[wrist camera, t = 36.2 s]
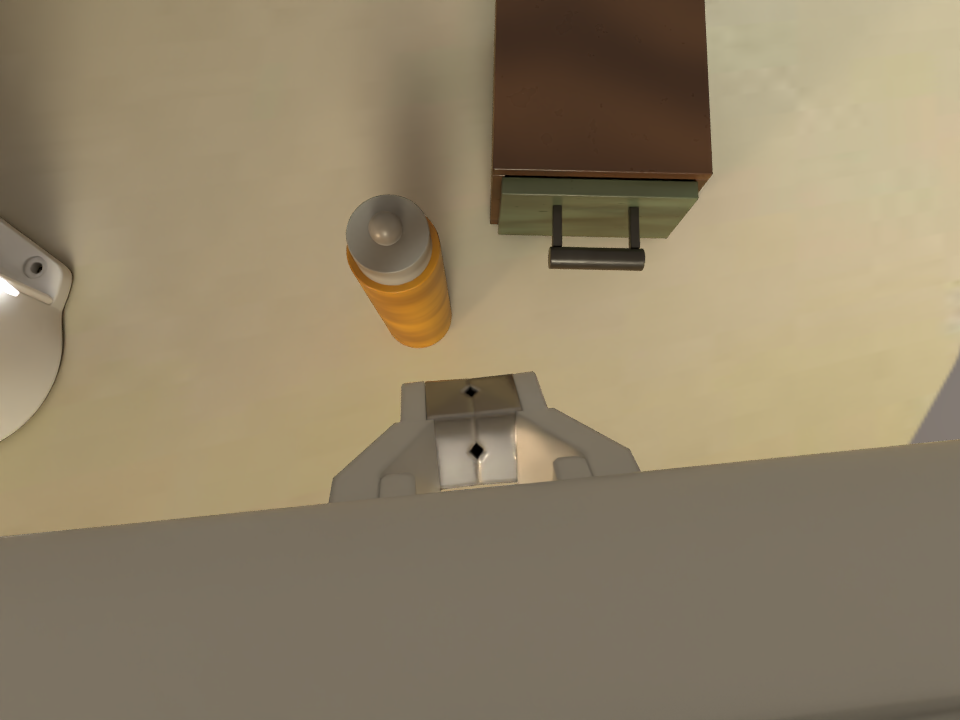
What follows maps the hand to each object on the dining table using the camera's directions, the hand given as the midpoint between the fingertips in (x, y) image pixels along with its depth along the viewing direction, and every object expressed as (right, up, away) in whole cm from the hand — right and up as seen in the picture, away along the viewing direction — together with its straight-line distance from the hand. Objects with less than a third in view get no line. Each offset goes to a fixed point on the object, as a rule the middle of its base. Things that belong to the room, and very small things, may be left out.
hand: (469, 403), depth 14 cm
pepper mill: (-4, +4, +31) cm, 32 cm away
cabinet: (+8, +19, +34) cm, 40 cm away
